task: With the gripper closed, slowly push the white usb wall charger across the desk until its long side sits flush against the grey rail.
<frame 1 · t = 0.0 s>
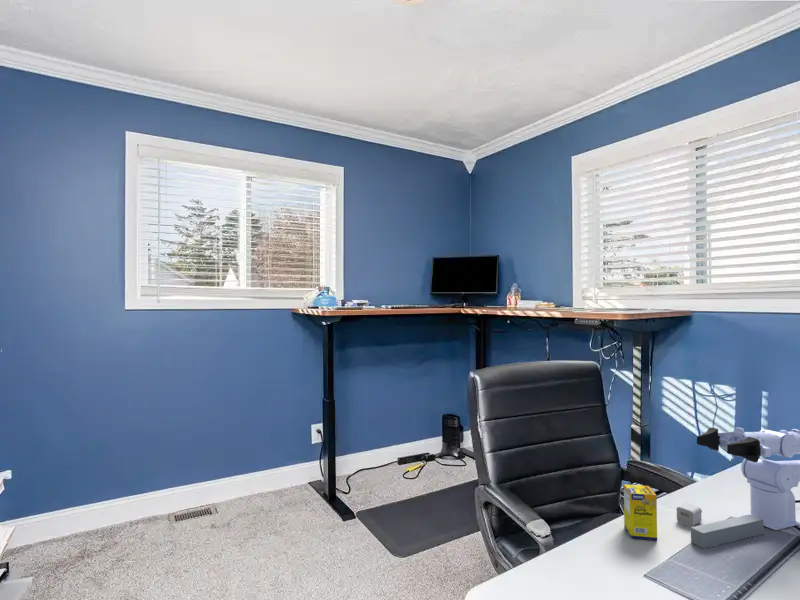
hand: (712, 444, 112), 22 cm above the table, tool horizontal, fingers open, 7 cm apart
slate rail: (727, 538, 110), on the table
usb wall charger: (691, 521, 119), on the table
supplement box: (640, 535, 112), on the table
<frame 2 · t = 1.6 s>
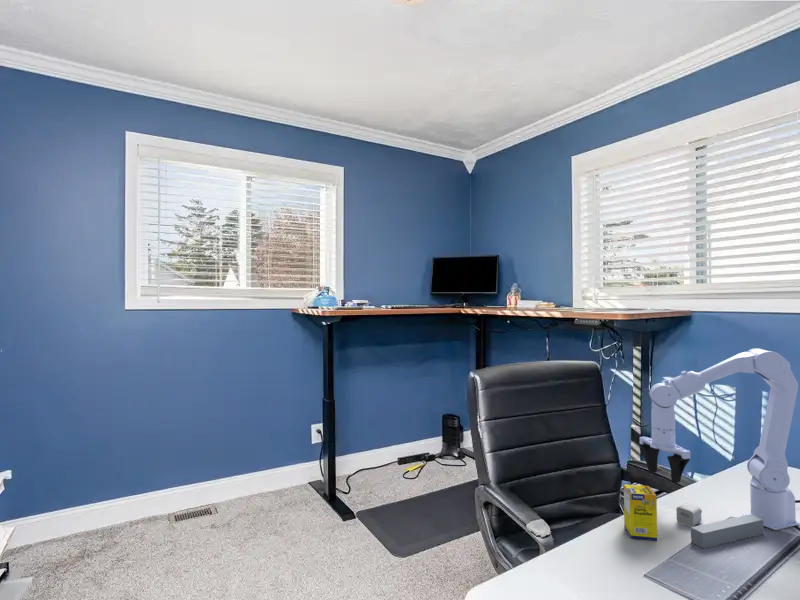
hand: (664, 477, 126), 8 cm above the table, tool pointing down, fingers open, 7 cm apart
nothing on the table moved.
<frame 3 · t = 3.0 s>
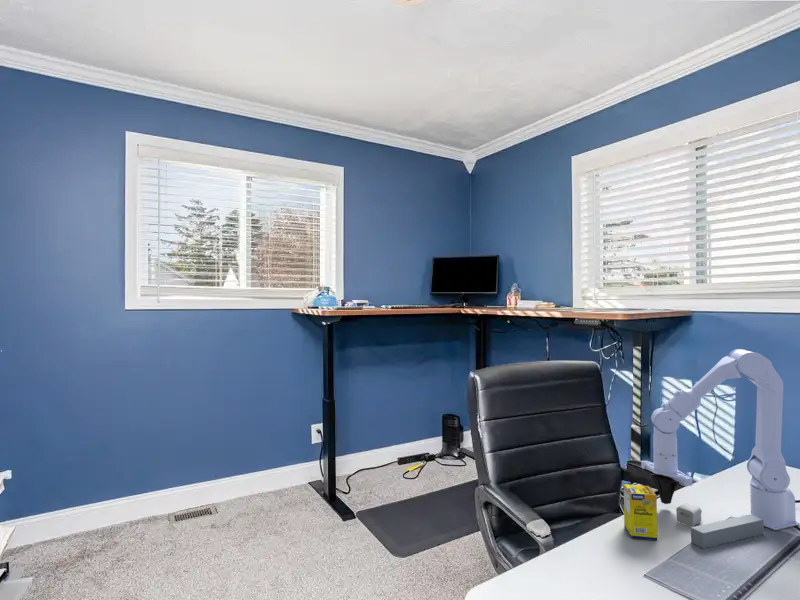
hand: (666, 502, 126), 2 cm above the table, tool pointing down, fingers closed
nothing on the table moved.
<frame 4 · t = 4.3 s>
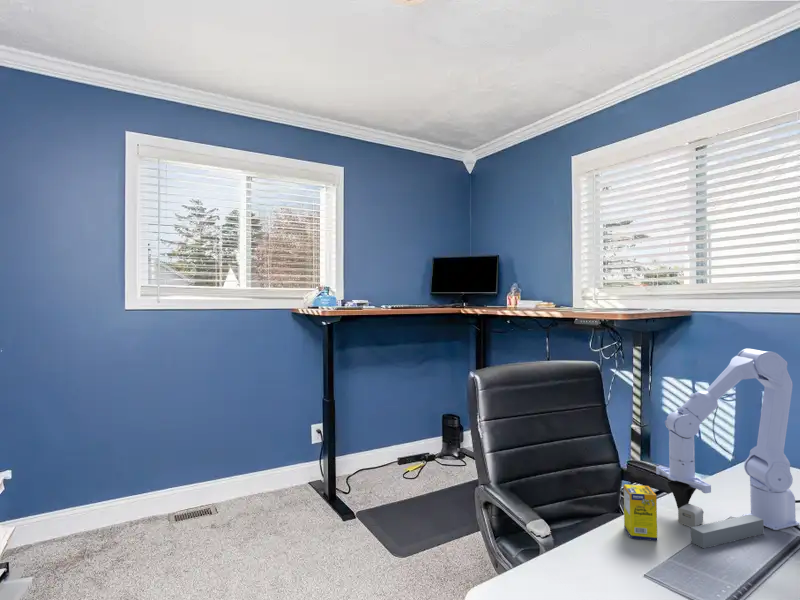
hand: (682, 510, 121), 2 cm above the table, tool pointing down, fingers closed
usb wall charger: (693, 522, 118), on the table, touching gripper
everything else where it was.
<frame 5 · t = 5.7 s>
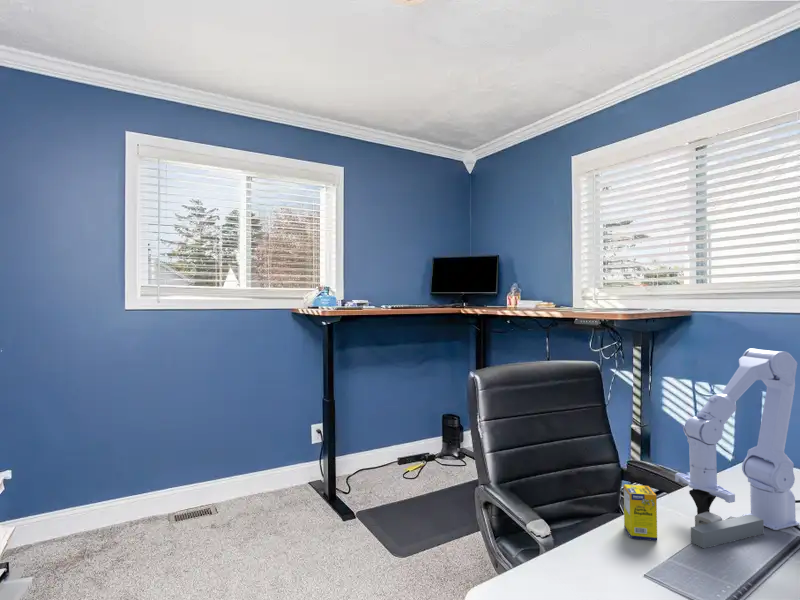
hand: (704, 519, 116), 2 cm above the table, tool pointing down, fingers closed, pressing on usb wall charger
usb wall charger: (711, 531, 113), on the table, touching gripper, slate rail
everything else where it was.
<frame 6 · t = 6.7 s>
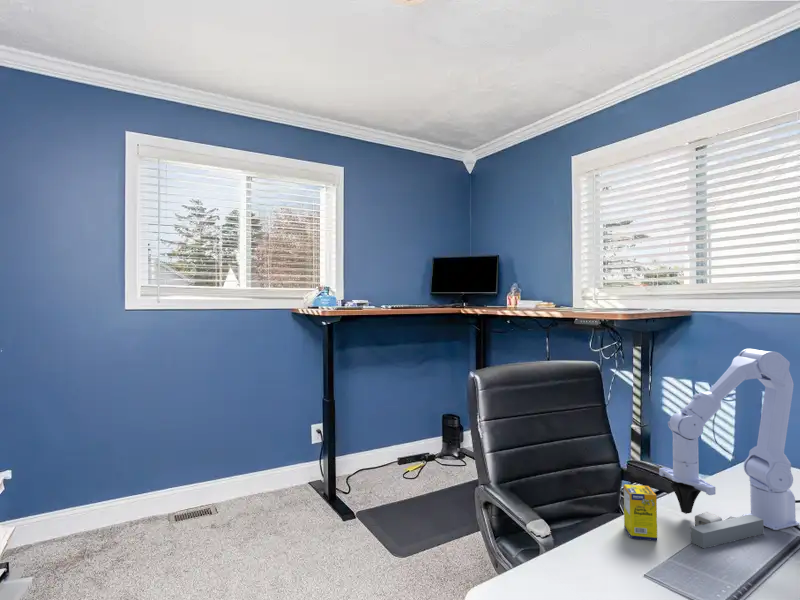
hand: (686, 512, 120), 2 cm above the table, tool pointing down, fingers closed
usb wall charger: (711, 531, 113), on the table
everything else where it was.
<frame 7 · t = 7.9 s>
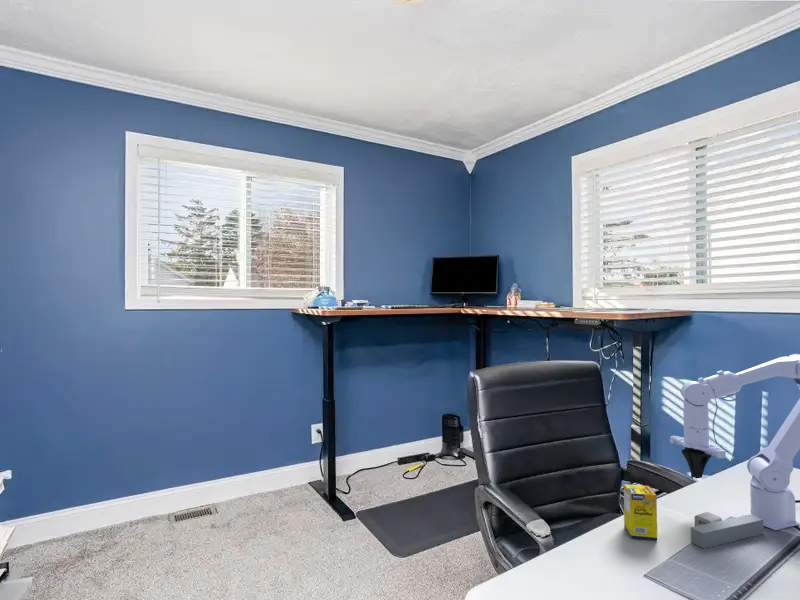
hand: (697, 477, 123), 9 cm above the table, tool pointing down, fingers closed
nothing on the table moved.
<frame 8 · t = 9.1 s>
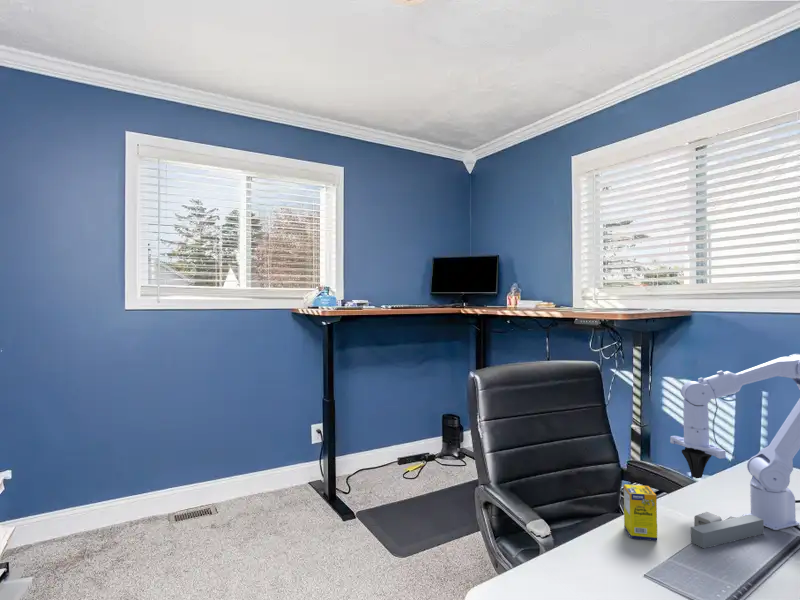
hand: (697, 477, 123), 9 cm above the table, tool pointing down, fingers closed
nothing on the table moved.
at the end: usb wall charger inside the target area on the table beside the slate rail (0.3 cm from its centre), on the table; usb wall charger tilted 0°; usb wall charger moved 5.6 cm from its start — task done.
